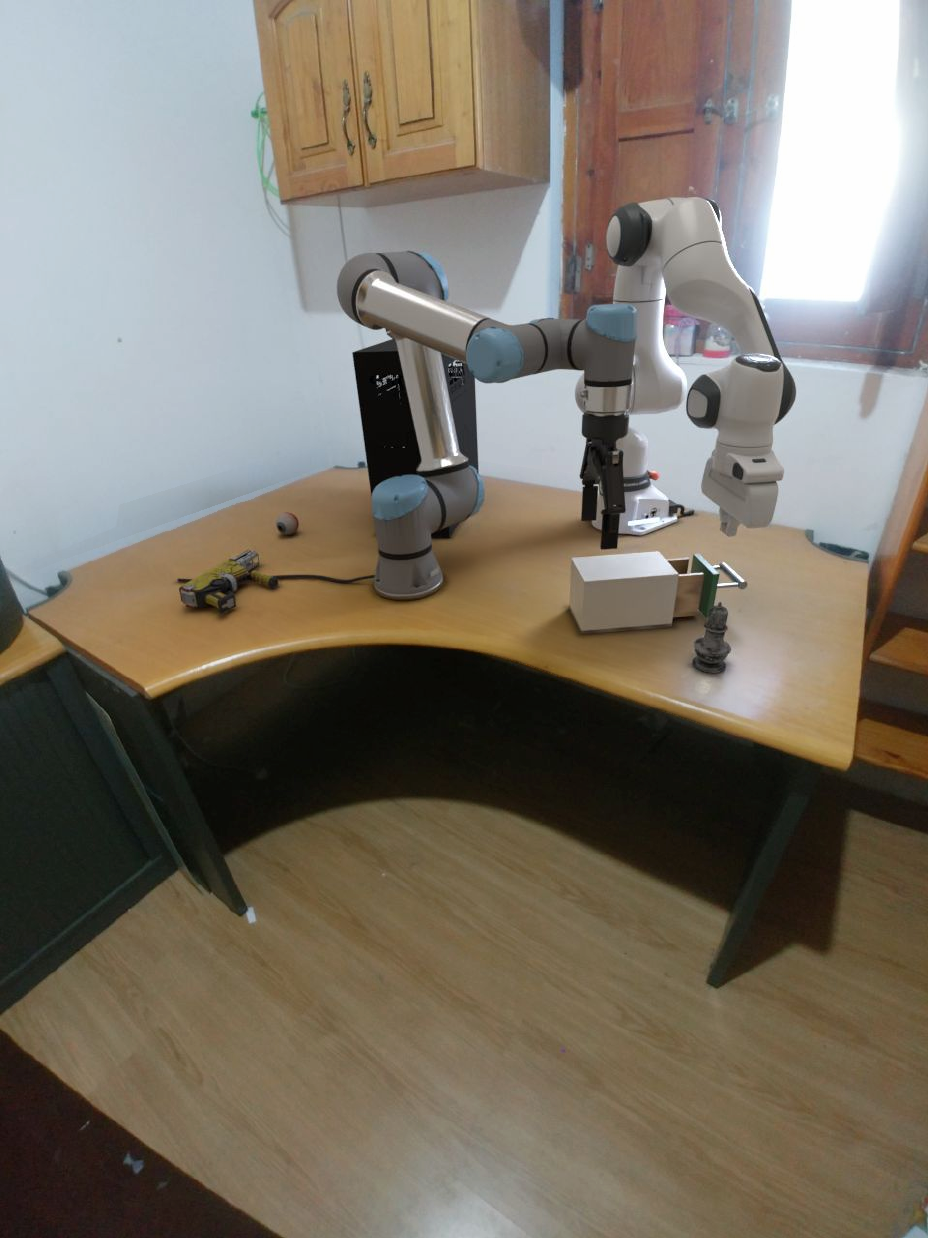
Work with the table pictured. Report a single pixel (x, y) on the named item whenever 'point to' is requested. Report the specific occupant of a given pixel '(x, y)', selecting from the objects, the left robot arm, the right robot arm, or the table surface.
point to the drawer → (700, 585)
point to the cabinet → (622, 592)
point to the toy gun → (223, 583)
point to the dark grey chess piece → (713, 642)
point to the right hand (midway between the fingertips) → (727, 533)
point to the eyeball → (287, 523)
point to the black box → (406, 414)
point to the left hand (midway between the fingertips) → (598, 533)
